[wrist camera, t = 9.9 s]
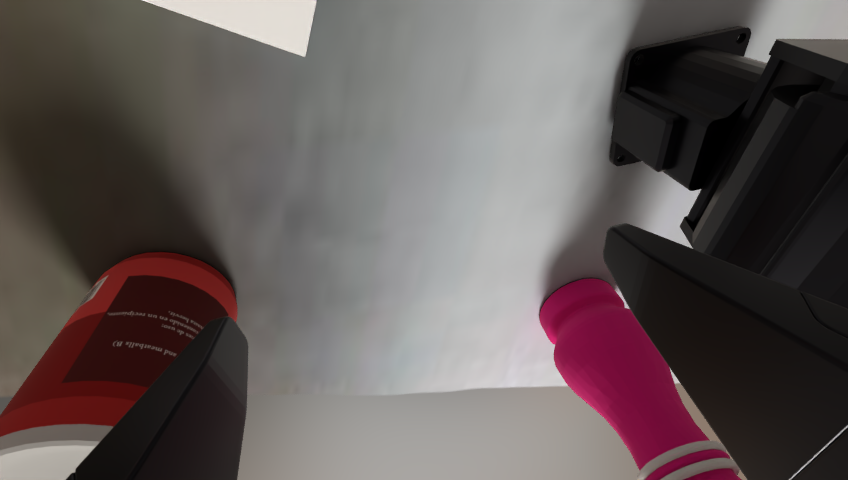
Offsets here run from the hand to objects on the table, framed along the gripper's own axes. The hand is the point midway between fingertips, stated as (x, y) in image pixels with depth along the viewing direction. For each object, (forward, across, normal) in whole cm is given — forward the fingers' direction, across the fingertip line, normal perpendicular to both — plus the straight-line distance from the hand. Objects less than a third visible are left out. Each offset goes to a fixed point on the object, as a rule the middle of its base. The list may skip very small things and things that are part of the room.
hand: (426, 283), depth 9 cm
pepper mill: (+13, -12, +19) cm, 26 cm away
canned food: (+13, +15, +9) cm, 22 cm away
